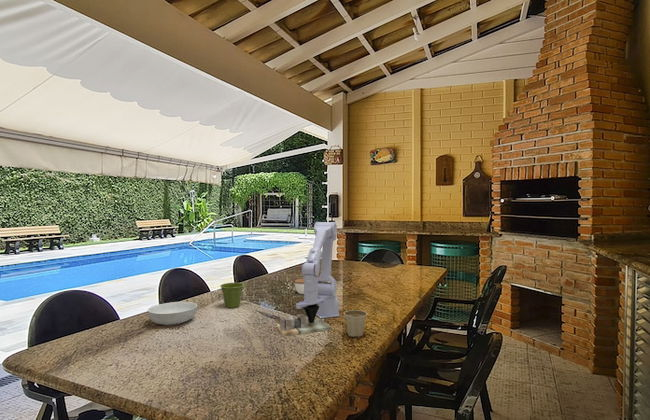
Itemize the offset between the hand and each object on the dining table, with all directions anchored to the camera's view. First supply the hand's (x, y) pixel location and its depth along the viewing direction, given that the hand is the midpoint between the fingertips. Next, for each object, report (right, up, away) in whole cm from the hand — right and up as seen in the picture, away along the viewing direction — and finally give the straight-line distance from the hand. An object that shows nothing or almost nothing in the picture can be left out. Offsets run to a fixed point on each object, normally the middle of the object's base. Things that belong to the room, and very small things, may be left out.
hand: (311, 322), depth 161 cm
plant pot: (-42, -2, +34) cm, 54 cm away
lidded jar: (-7, -2, +63) cm, 63 cm away
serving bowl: (-63, -3, +10) cm, 63 cm away
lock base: (-3, -2, -1) cm, 4 cm away
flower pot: (+18, -2, -9) cm, 20 cm away
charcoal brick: (-6, -1, -2) cm, 7 cm away
